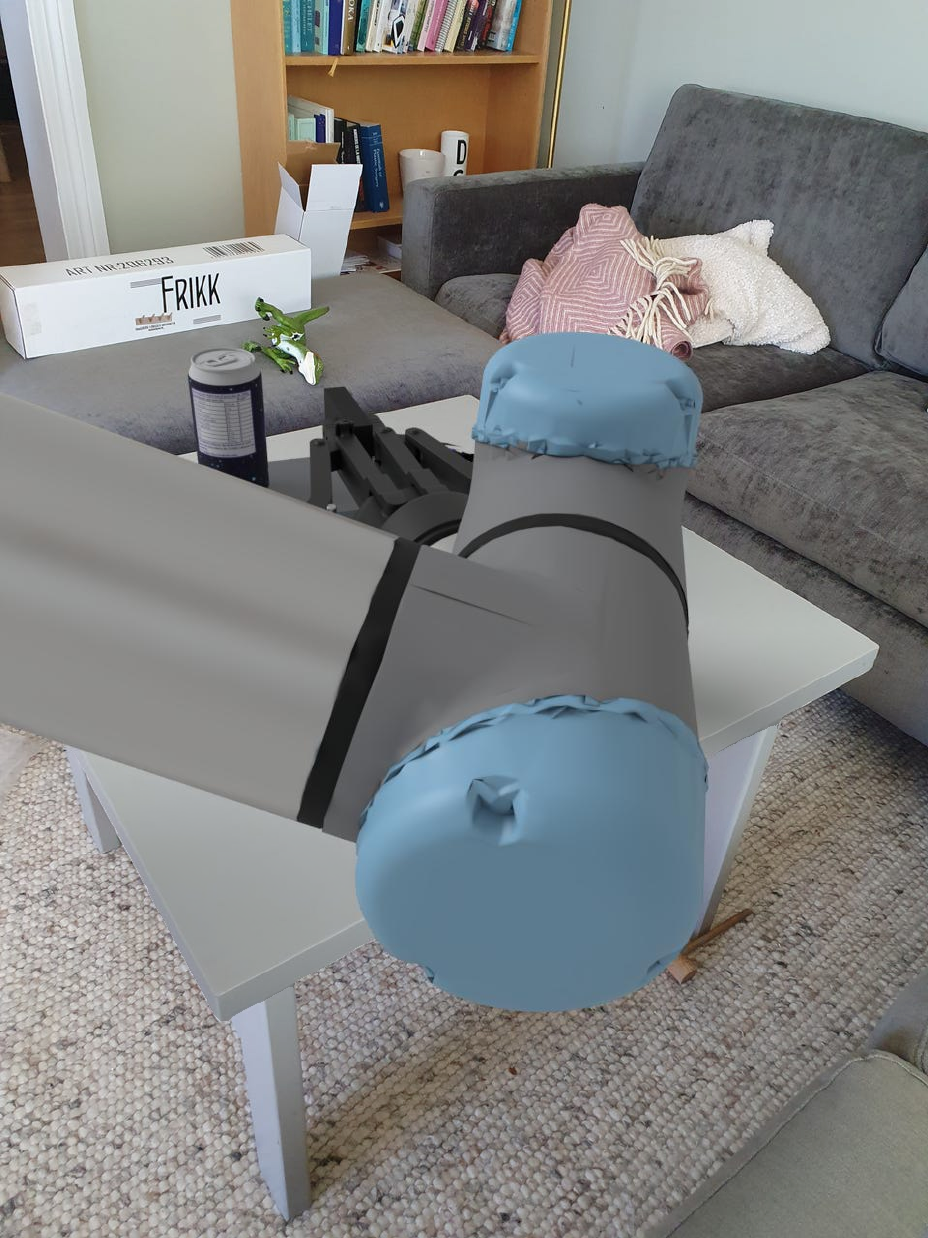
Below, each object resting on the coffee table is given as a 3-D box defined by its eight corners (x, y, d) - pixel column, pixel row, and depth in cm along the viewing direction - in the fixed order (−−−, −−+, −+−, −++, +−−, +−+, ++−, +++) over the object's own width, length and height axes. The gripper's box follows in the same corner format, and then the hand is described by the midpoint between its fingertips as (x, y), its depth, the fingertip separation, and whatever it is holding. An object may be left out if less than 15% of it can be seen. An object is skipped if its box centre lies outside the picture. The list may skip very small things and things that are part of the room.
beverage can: (283, 495, 79) (275, 359, 72) (229, 517, 75) (215, 377, 68) (242, 472, 82) (230, 340, 75) (188, 492, 78) (170, 356, 71)
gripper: (335, 671, 46) (244, 465, 64) (564, 626, 51) (420, 445, 68) (332, 544, 42) (235, 360, 59) (583, 507, 46) (424, 346, 64)
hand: (334, 405), depth 64 cm, fingers closed
